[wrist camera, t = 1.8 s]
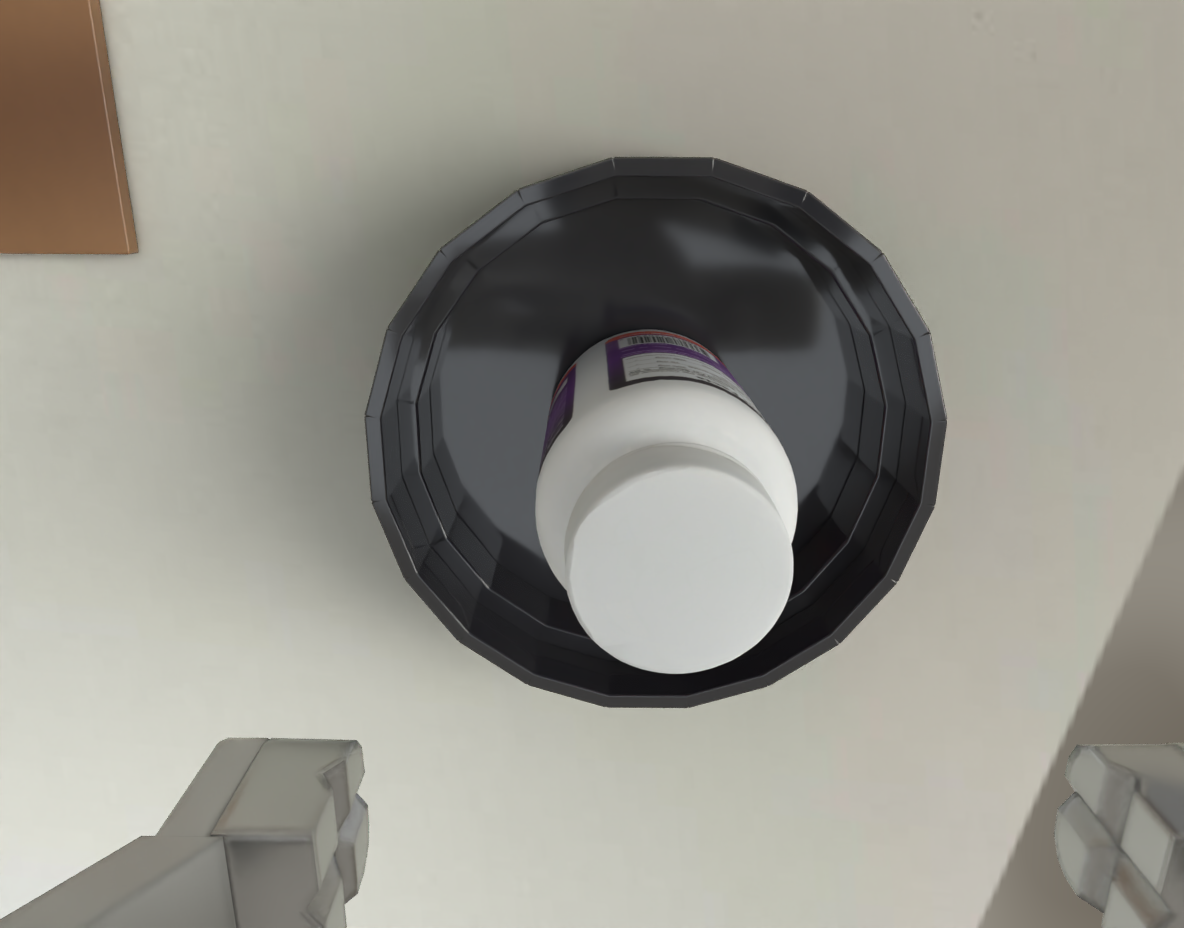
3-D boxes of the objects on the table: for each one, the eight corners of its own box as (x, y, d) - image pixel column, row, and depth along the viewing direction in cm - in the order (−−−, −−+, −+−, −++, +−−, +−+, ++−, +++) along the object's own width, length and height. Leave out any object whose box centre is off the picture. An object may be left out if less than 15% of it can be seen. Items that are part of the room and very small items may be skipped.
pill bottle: (627, 547, 25) (646, 761, 16) (509, 406, 24) (457, 551, 15) (781, 438, 24) (896, 599, 15) (667, 284, 23) (716, 359, 14)
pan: (382, 157, 22) (343, 154, 19) (923, 161, 22) (985, 159, 19) (414, 636, 27) (387, 707, 23) (865, 639, 27) (906, 710, 23)
